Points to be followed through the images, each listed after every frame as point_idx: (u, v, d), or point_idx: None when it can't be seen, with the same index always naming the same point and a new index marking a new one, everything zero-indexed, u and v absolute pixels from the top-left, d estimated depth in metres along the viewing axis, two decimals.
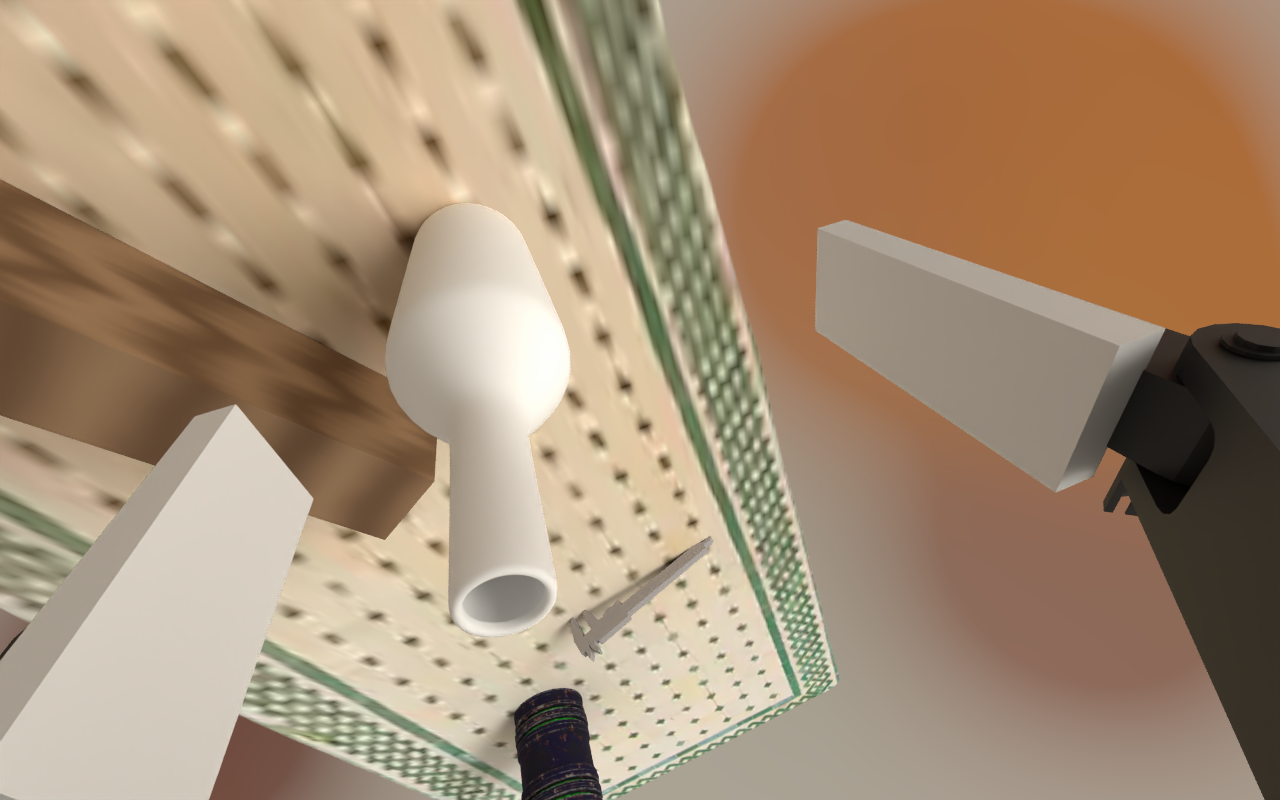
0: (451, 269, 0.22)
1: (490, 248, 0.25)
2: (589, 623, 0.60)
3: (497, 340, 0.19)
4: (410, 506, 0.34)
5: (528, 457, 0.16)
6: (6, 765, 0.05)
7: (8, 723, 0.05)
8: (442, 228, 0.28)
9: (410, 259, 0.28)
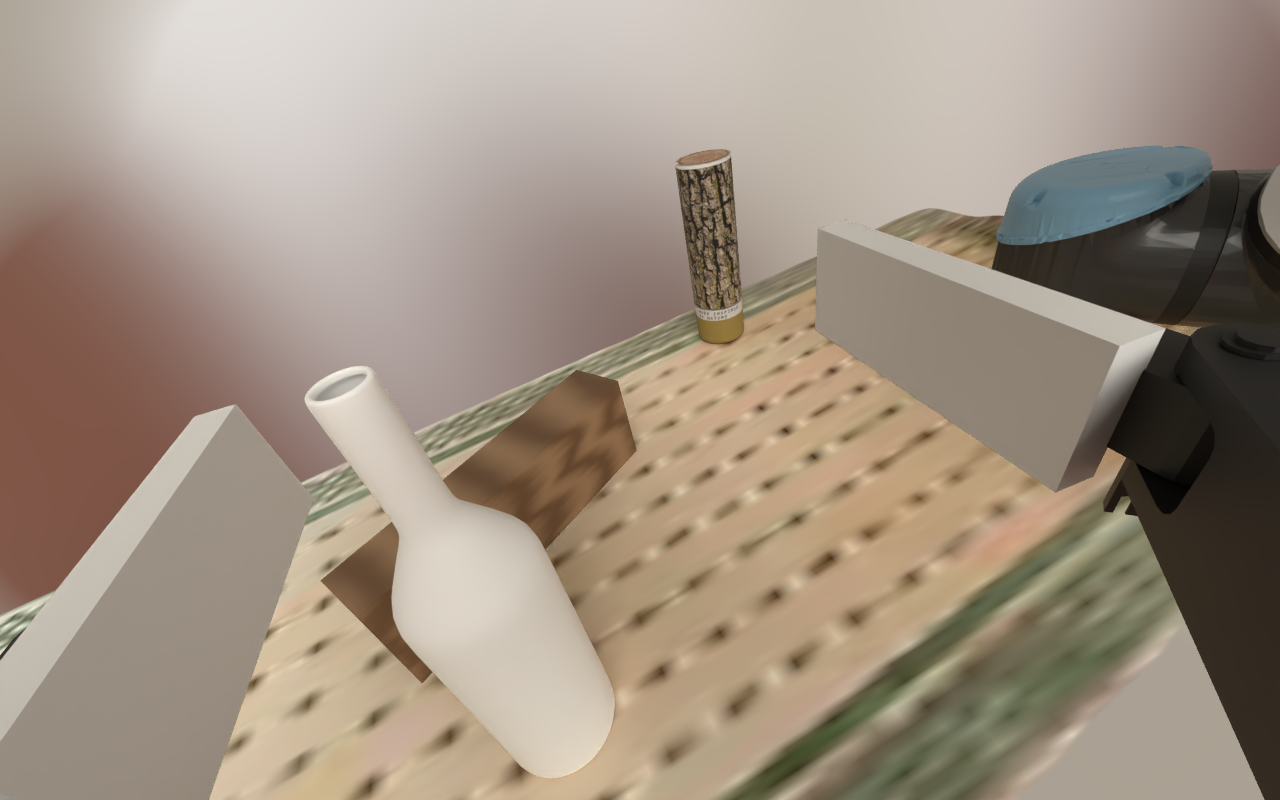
0: (553, 571, 0.28)
1: (568, 634, 0.28)
2: None
3: (494, 546, 0.24)
4: (342, 599, 0.36)
5: (405, 489, 0.21)
6: (6, 765, 0.05)
7: (8, 723, 0.05)
8: None
9: None
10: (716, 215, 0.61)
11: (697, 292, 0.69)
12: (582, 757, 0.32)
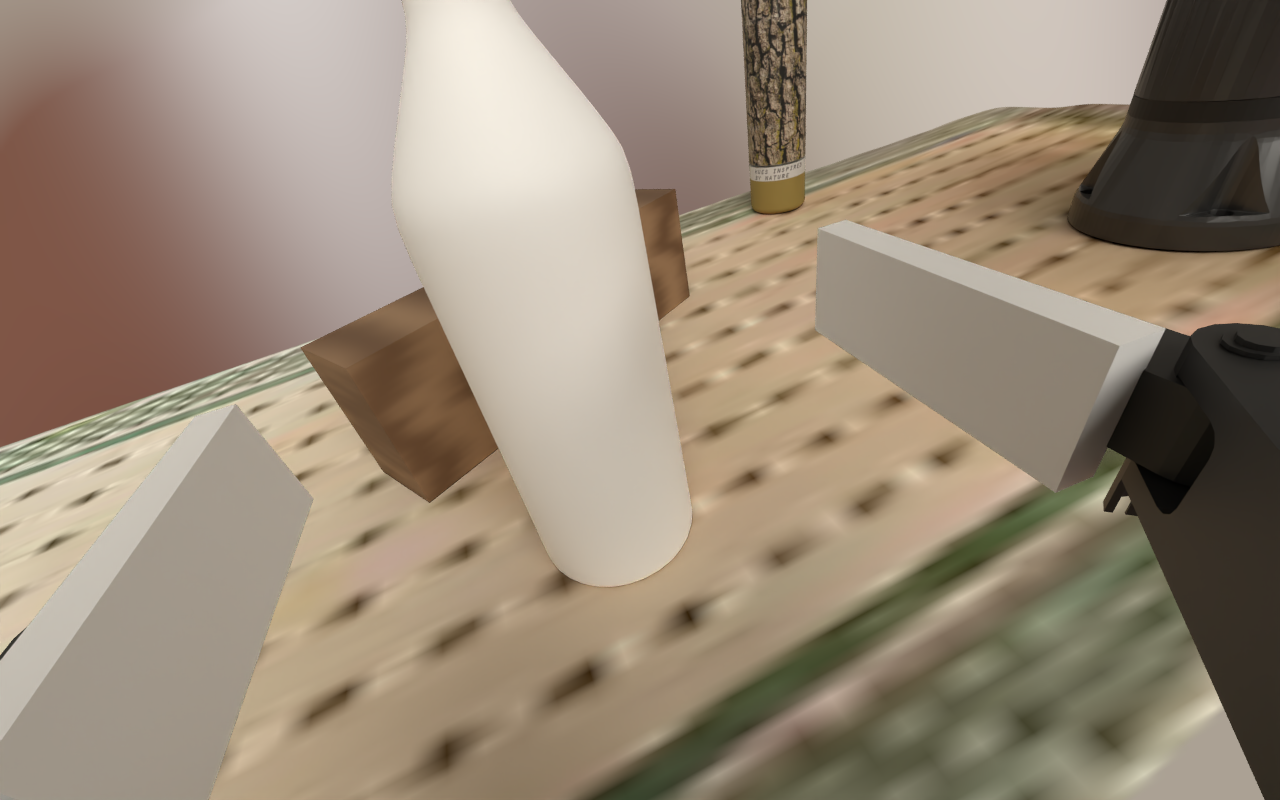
0: None
1: (655, 320, 0.19)
2: None
3: (562, 76, 0.14)
4: (327, 357, 0.27)
5: None
6: (7, 765, 0.05)
7: (9, 723, 0.05)
8: None
9: None
10: (786, 32, 0.52)
11: (755, 145, 0.60)
12: (655, 553, 0.23)
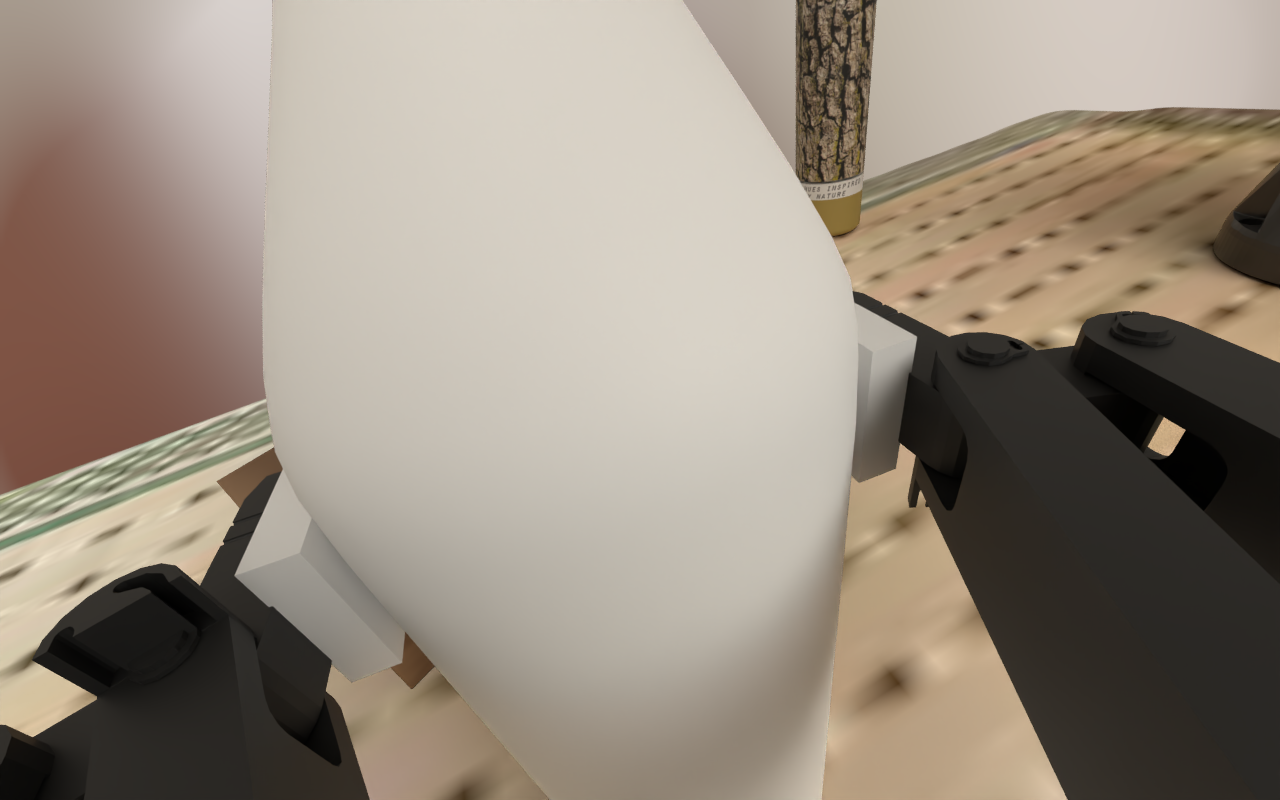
0: None
1: None
2: None
3: (732, 78, 0.05)
4: None
5: None
6: (313, 548, 0.06)
7: (305, 523, 0.06)
8: None
9: None
10: (853, 22, 0.43)
11: (806, 157, 0.50)
12: None
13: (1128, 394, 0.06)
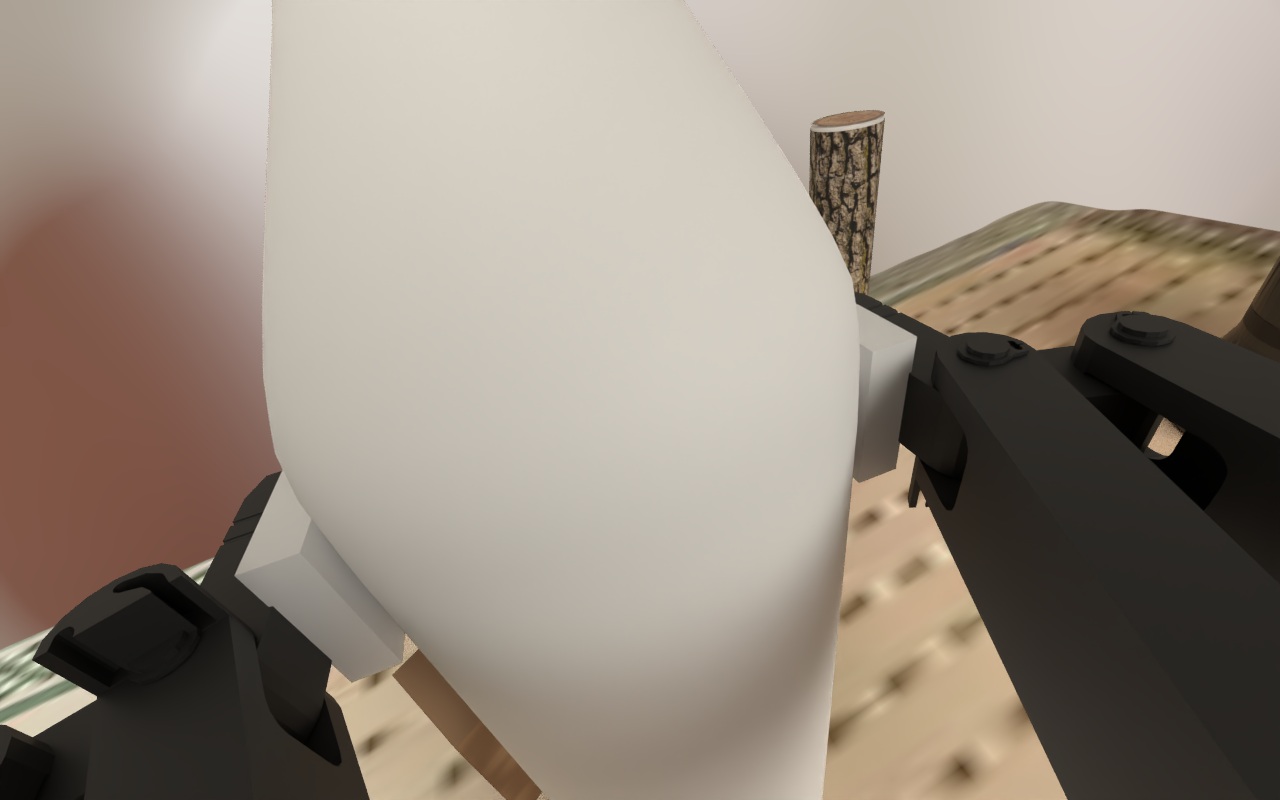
0: None
1: None
2: None
3: (734, 78, 0.05)
4: (428, 711, 0.24)
5: None
6: (314, 548, 0.06)
7: (306, 523, 0.06)
8: None
9: None
10: (860, 190, 0.49)
11: None
12: None
13: (1128, 394, 0.06)
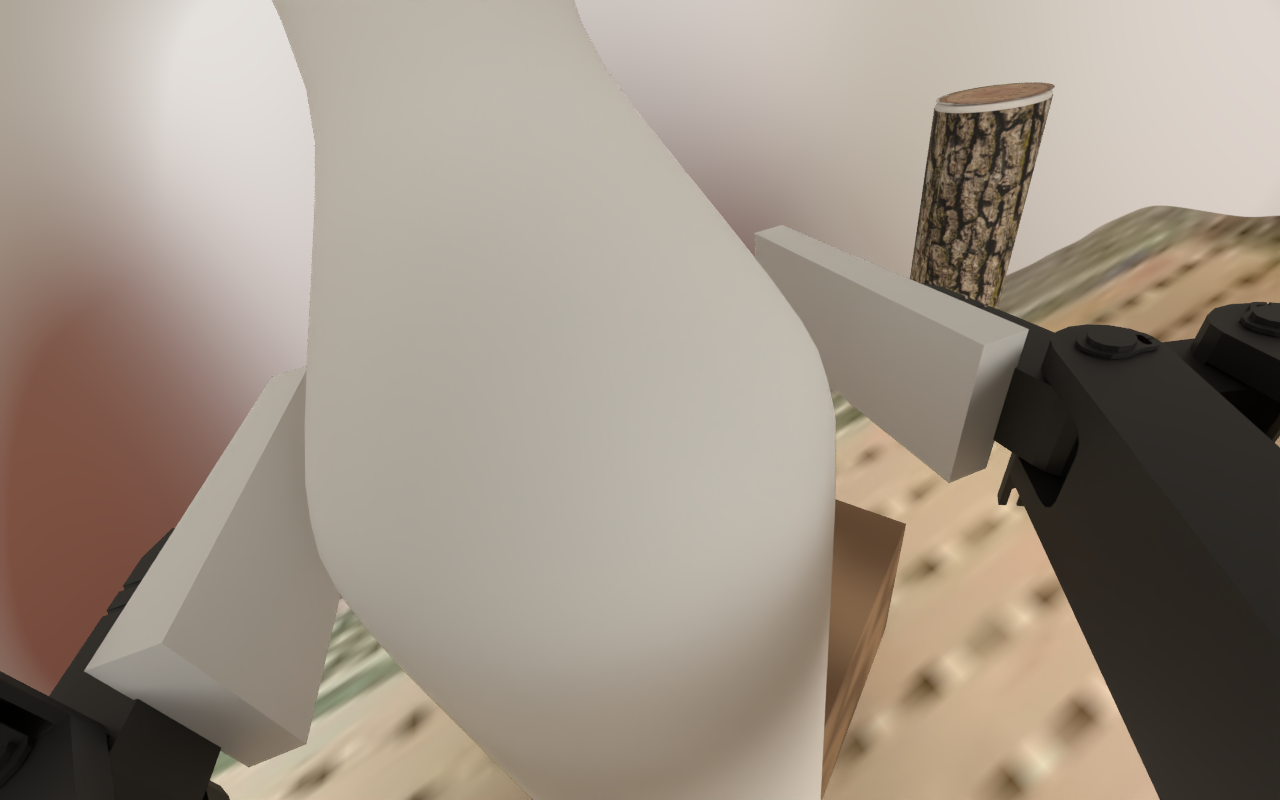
0: None
1: None
2: None
3: (716, 221, 0.06)
4: None
5: None
6: (183, 634, 0.05)
7: (178, 603, 0.06)
8: None
9: None
10: (1008, 197, 0.35)
11: None
12: None
13: (1268, 389, 0.06)
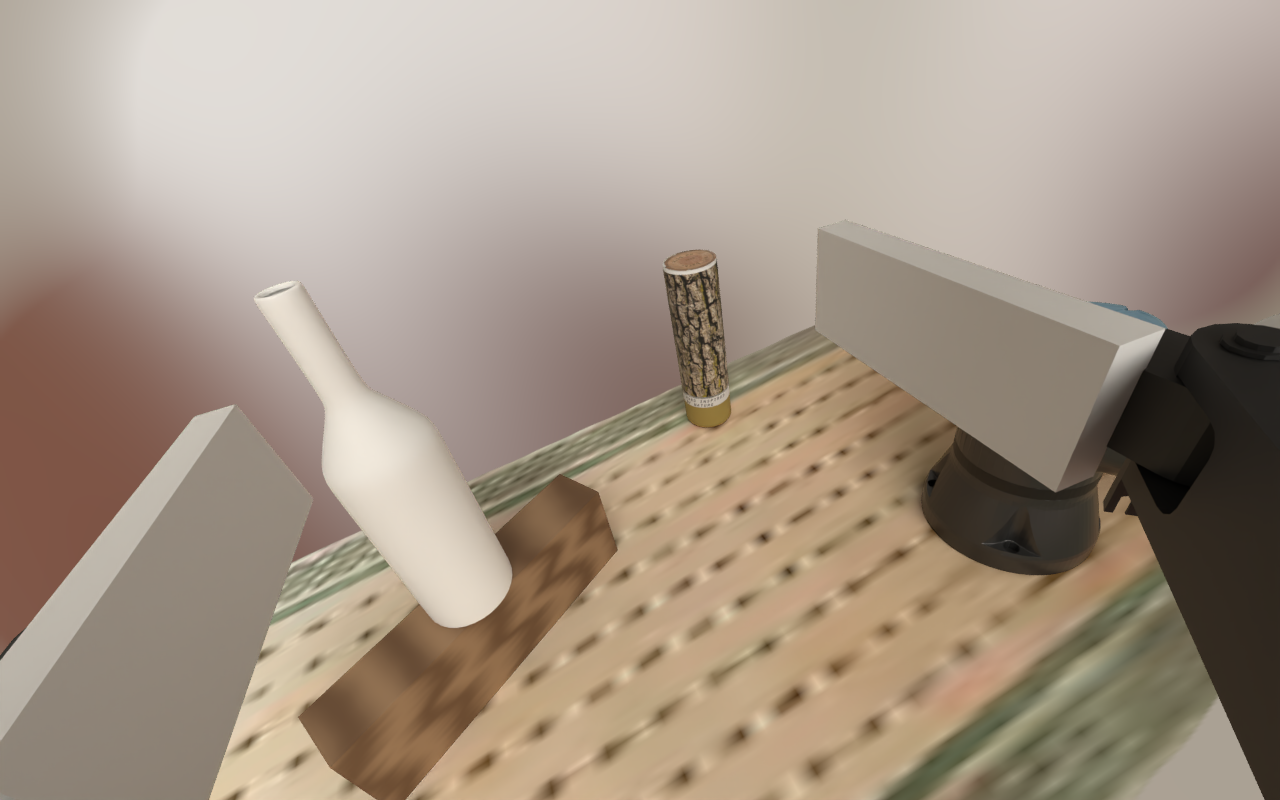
0: (447, 453, 0.38)
1: (458, 501, 0.38)
2: None
3: (393, 420, 0.34)
4: (317, 742, 0.37)
5: (324, 367, 0.31)
6: (7, 765, 0.05)
7: (9, 723, 0.05)
8: (486, 521, 0.43)
9: None
10: (701, 315, 0.63)
11: (684, 380, 0.70)
12: (477, 610, 0.42)
13: None
